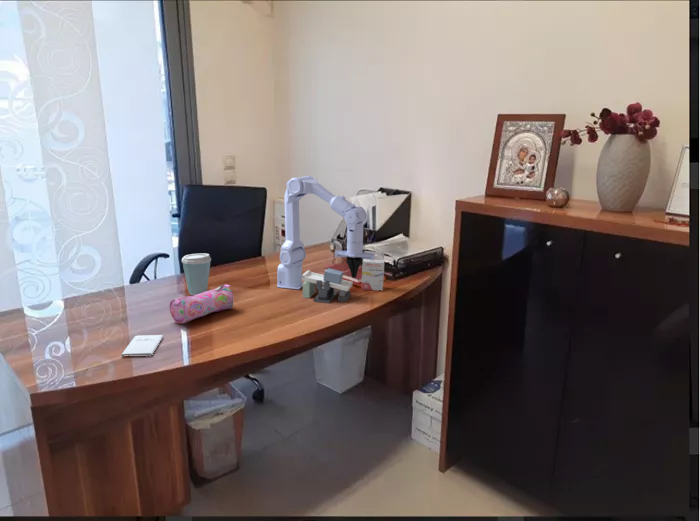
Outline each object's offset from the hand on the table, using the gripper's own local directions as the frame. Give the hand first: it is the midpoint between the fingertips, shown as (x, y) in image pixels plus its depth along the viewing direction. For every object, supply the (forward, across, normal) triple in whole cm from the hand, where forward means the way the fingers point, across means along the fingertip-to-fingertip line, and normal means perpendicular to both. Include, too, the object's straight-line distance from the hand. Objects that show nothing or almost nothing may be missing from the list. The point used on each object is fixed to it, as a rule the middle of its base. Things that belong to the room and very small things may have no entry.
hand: (354, 277), depth 183 cm
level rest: (+9, -18, 0) cm, 20 cm away
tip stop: (+9, -4, 0) cm, 10 cm away
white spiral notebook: (+10, -48, -57) cm, 75 cm away
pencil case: (+9, -44, -30) cm, 54 cm away
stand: (+9, -11, 0) cm, 14 cm away
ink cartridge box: (+9, +4, +15) cm, 18 cm away
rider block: (+3, -8, 0) cm, 9 cm away
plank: (+4, -10, 0) cm, 11 cm away
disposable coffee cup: (+9, -58, -11) cm, 60 cm away
